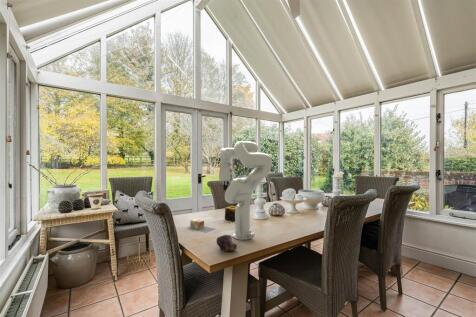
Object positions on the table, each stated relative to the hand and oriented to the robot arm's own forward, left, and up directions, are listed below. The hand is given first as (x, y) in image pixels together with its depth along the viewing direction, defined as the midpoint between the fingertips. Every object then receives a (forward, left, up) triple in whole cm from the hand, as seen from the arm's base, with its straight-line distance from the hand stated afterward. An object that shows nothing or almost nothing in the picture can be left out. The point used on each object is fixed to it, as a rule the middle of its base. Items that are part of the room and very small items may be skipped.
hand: (225, 190), depth 165 cm
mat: (+11, +14, -27) cm, 32 cm away
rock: (-26, +33, -27) cm, 50 cm away
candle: (+8, -20, -27) cm, 35 cm away
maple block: (+11, +14, -24) cm, 30 cm away
